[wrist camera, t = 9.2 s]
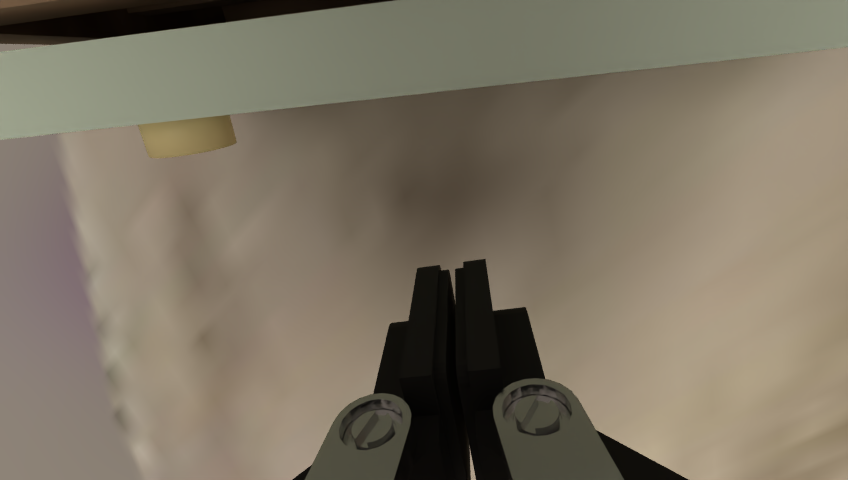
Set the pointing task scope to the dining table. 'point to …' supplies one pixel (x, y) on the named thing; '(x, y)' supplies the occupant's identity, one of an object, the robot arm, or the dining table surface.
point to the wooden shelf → (135, 16)
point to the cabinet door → (378, 59)
